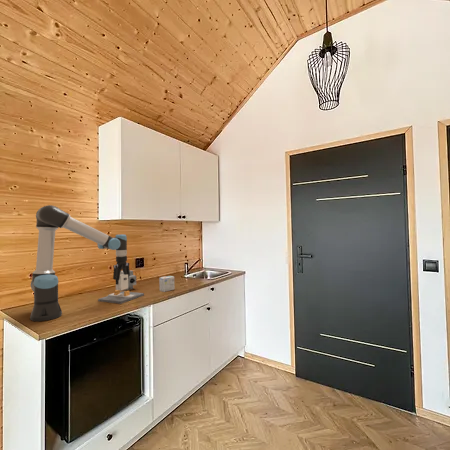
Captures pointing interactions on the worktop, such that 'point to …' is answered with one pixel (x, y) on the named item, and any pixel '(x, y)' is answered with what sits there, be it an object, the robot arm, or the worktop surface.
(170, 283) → the light bulb box
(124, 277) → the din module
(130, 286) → the circuit breaker
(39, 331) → the worktop surface
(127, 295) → the din rail board
